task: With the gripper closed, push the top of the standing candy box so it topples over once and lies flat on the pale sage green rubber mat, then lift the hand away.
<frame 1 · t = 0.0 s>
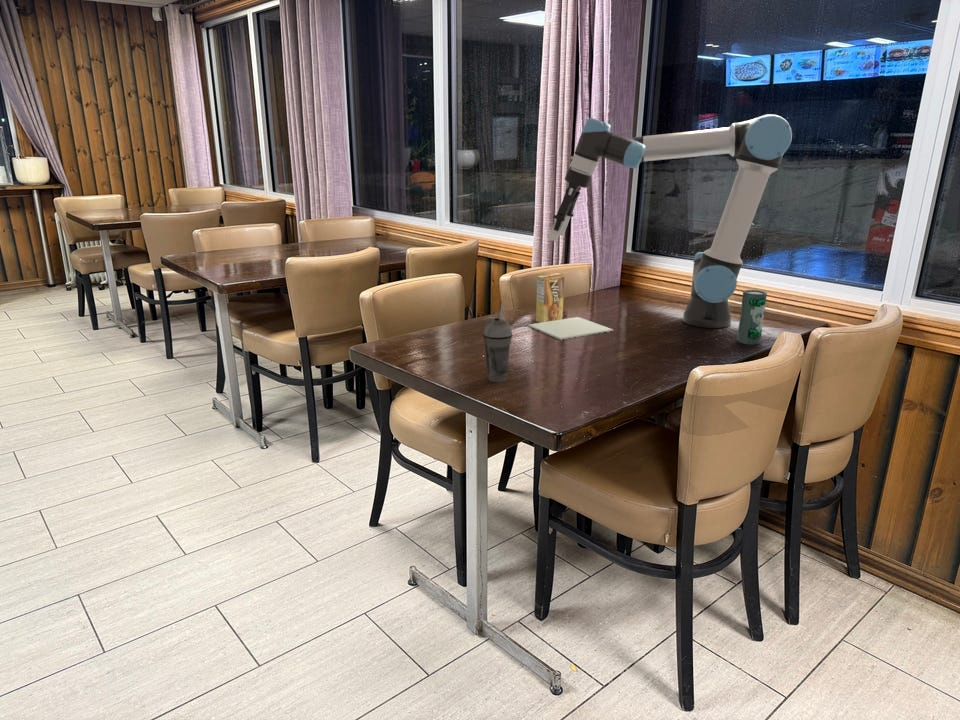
hand: (555, 237, 210), 28 cm above the table, tool tilted 20°, fingers open, 13 cm apart
can: (748, 342, 198), on the table
mat: (569, 328, 211), on the table
candy box: (549, 321, 221), on the table
beverage cup: (497, 379, 167), on the table
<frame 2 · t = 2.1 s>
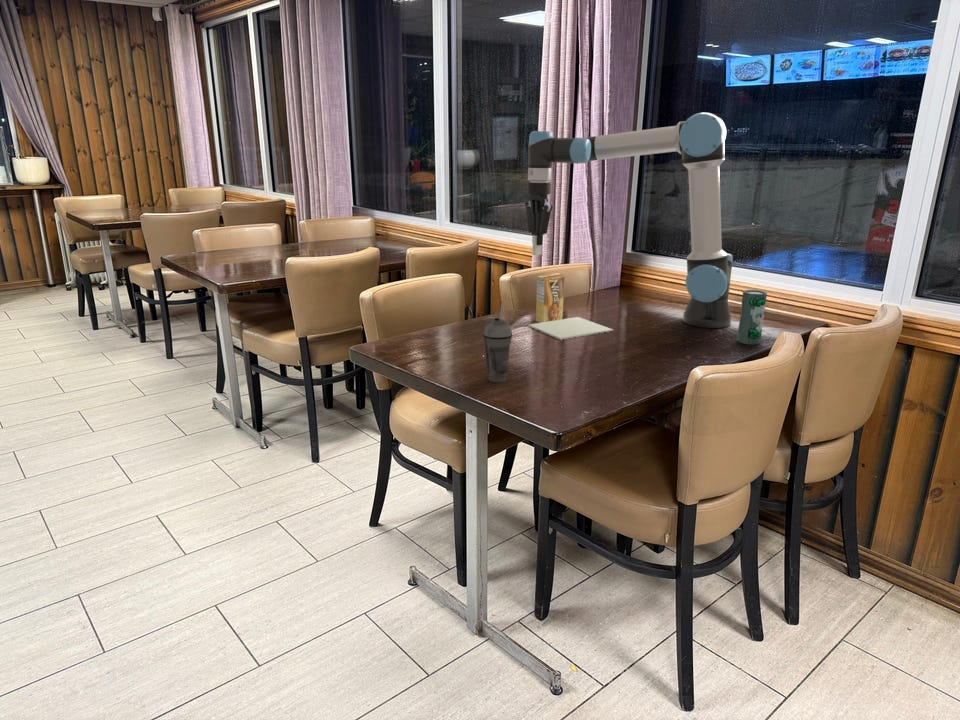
hand: (536, 254, 221), 21 cm above the table, tool pointing down, fingers closed
nothing on the table moved.
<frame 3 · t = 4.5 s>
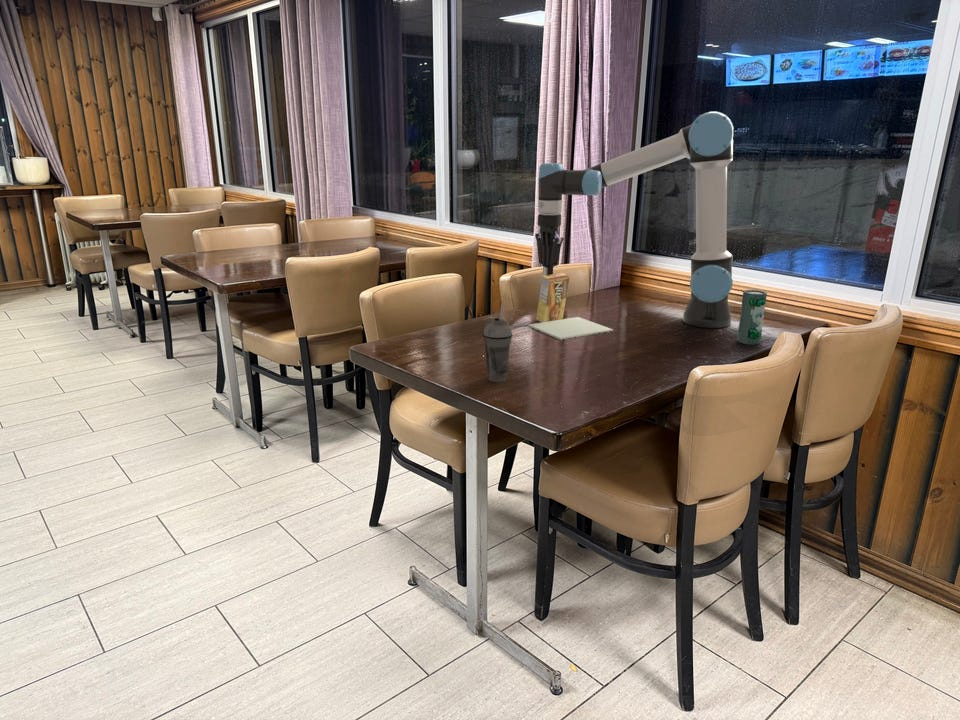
hand: (547, 286, 219), 11 cm above the table, tool pointing down, fingers closed
candy box: (549, 320, 221), on the table, touching mat
everything else where it was.
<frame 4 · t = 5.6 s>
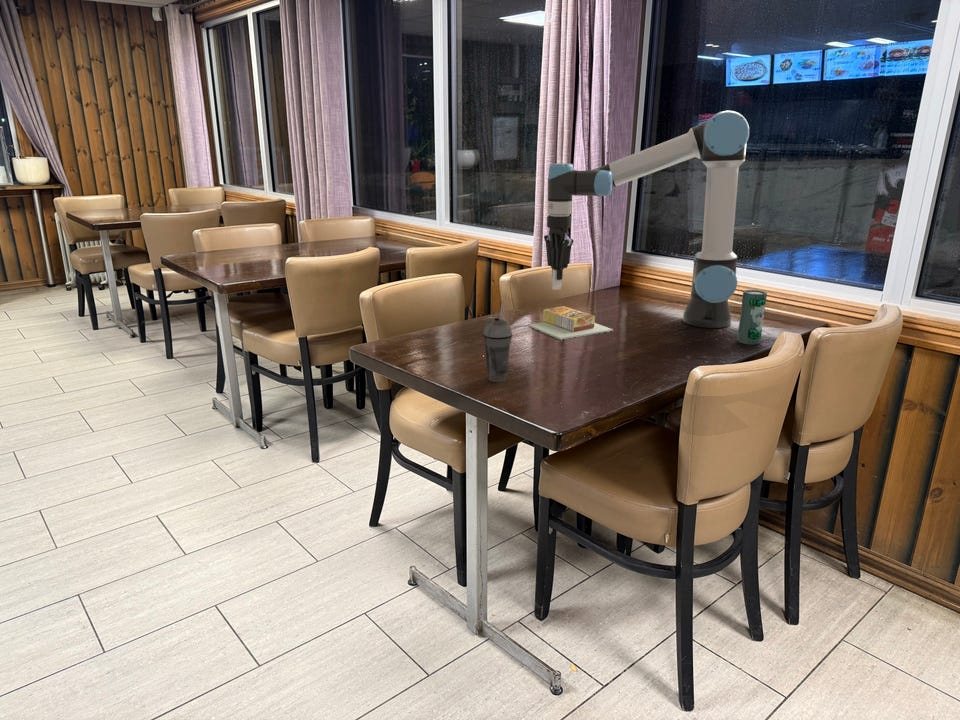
hand: (556, 289, 215), 11 cm above the table, tool pointing down, fingers closed
candy box: (552, 313, 219), point 3 cm above the table, touching mat
everything else where it was.
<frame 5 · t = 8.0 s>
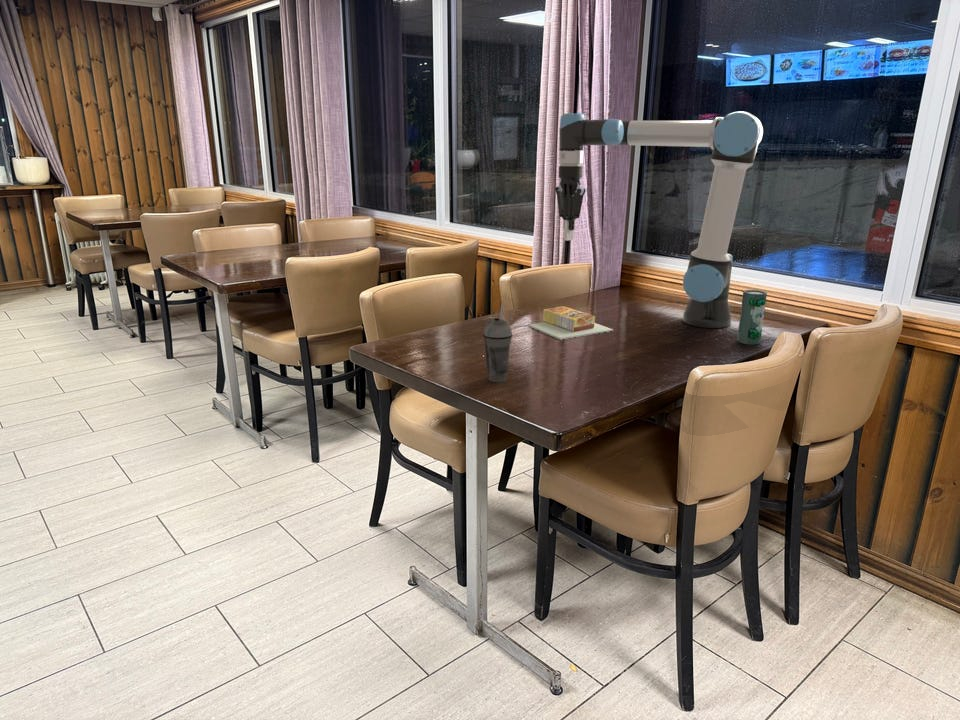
hand: (568, 239, 218), 26 cm above the table, tool pointing down, fingers closed
nothing on the table moved.
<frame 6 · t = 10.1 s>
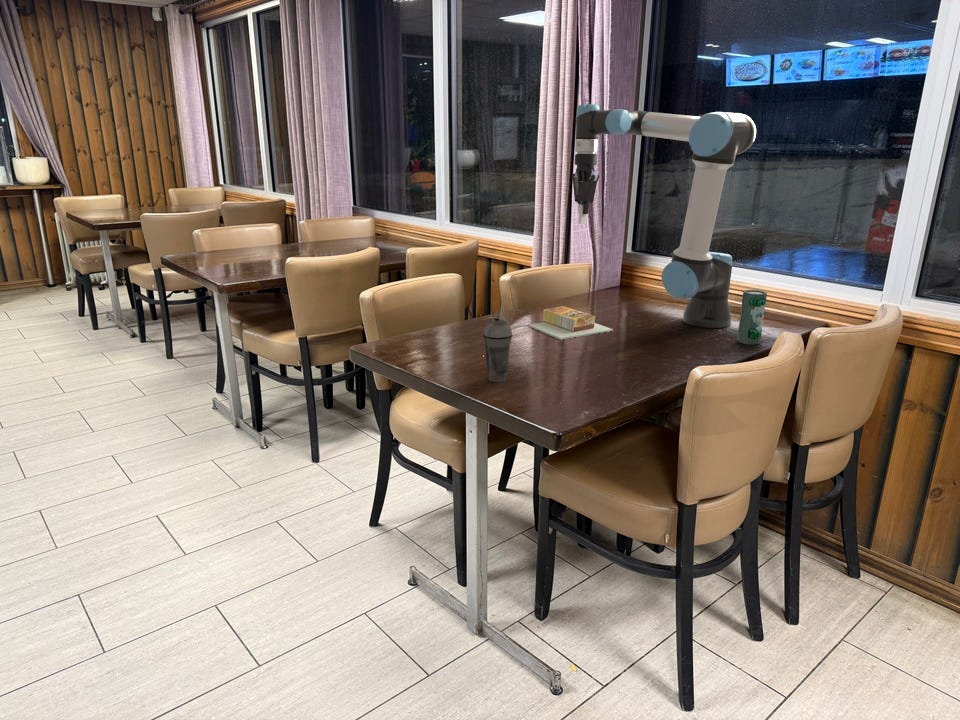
hand: (582, 223, 233), 29 cm above the table, tool pointing down, fingers closed
nothing on the table moved.
at the end: candy box tilted 90°; candy box touching mat; candy box inside the target area (1.2 cm from its centre), point 2.7 cm above the table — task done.
